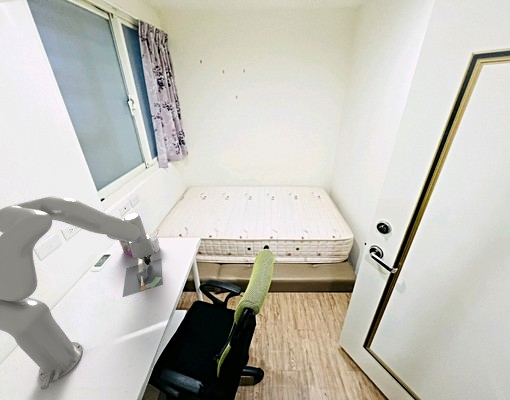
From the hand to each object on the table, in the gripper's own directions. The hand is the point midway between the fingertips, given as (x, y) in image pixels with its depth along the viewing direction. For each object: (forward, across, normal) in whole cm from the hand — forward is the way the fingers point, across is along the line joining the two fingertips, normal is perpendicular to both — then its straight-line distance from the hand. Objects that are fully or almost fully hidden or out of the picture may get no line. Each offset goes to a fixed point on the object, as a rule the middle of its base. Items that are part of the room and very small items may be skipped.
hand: (148, 263), depth 120 cm
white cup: (+3, +2, +13) cm, 13 cm away
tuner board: (+3, -2, -7) cm, 8 cm away
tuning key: (+1, -3, -7) cm, 7 cm away
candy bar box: (+3, -10, +16) cm, 19 cm away
